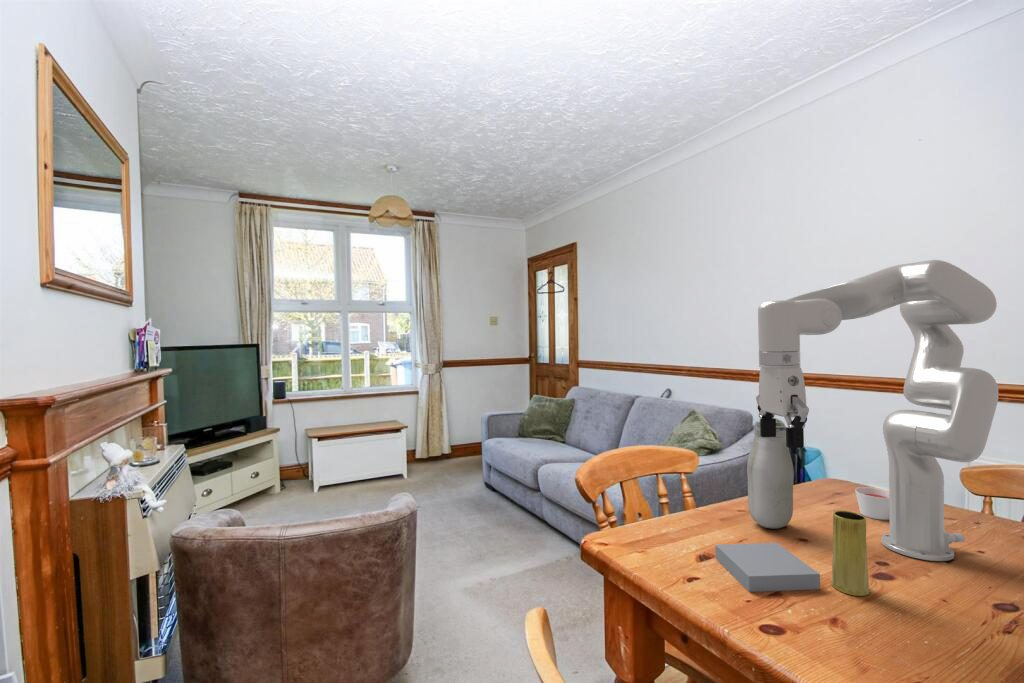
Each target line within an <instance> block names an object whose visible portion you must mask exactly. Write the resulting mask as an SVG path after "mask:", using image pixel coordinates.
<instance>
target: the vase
mask: <svg viewBox="0 0 1024 683" xmlns="http://www.w3.org/2000/svg"><path fill="white" fill-rule="evenodd" d="M832 516H833V517H832V518H833V522H832V523H833V524H832V526H833V528H832V532H833V533H832V560H831V561H832V562H831V564H832V565H831V568H832V569H831V570H832V571H831V572H832V574H831V575H832V578H831V582H830V583H831V585H832V587H833V588H834V589H835V590H837V591H839V592H840V593H843V594H847V595H849V596H853V597H867V596H868V595H869V594H870V593H871V592H870V587H869V586H870V583H869V571H868V570H869V568H868V546H867V517H866V516H864V515H862V514H861V513H858V512H855V511H850V510H835V511H833V514H832Z"/></svg>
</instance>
